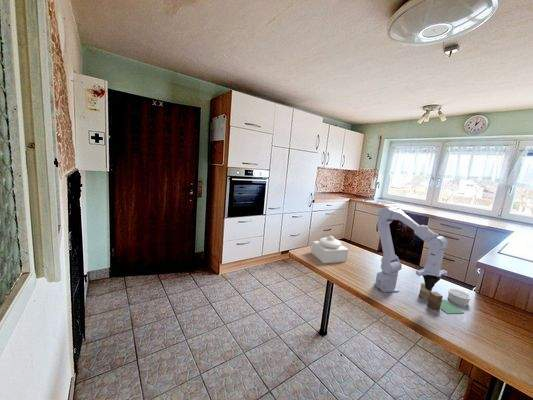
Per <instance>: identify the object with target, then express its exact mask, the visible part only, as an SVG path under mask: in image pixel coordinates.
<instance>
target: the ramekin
mask: <svg viewBox="0 0 533 400" xmlns="http://www.w3.org/2000/svg"><path fill="white" fill-rule="evenodd" d="M447 295H448V296H447V298H448V300H449V301H451V302H452V303H453V304H456V305H459V306H464V307H465V306H469V304H470V300H471V299H472V296H471V295H470V294H469V293H466V292H465V291H463V290H460V289H456V288H449V289H448V293H447Z"/></svg>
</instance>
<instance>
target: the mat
mask: <svg viewBox="0 0 533 400" xmlns="http://www.w3.org/2000/svg"><path fill="white" fill-rule="evenodd" d="M440 310H442V311H443V312H444V313H445V314H447V315H452V314H465V312H464V311H463V310H461V309H459V308H458V307H457V306H456V305H454V304H452V303H451V302H449V301H448V300H446V299H442V302H441V306H440Z"/></svg>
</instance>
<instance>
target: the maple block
mask: <svg viewBox="0 0 533 400" xmlns="http://www.w3.org/2000/svg"><path fill="white" fill-rule="evenodd" d="M432 290H433V289H432ZM432 290H431V291H429V290H427V289H426V288H425V282H424V281H423V282H421V284H420V288H419V293H418V295H419V297H421V298H423V299H425V300H428V299H429V294H430V292H433V291H432Z"/></svg>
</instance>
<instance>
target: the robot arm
mask: <svg viewBox="0 0 533 400" xmlns="http://www.w3.org/2000/svg"><path fill="white" fill-rule="evenodd" d="M377 214H378V218H377V222H376V223H377V228H378V234H379V238H380V243H381V249H382V254H383V256H382V258H381V259H380V261H381V264H380V270H381V271H379V272H377V273H376V276H375V281H374V282H373V284H374V286H376V287H377V288H378V289H379V290H380V291H382V292H383V293H388V292H389V293H391V292H392V293H395V292H397V293H398V292H400V290H399V289H397V288H396V287H397V280H398V275H399V271H401V270H402V268H403V267H402V262H400V259H399V256H397V254H395V248H394V243H393V238H392V234H391V227H390V224H391V223H392V222H394V221H400V222H401V223H402V224H404V225H405V226H407V227H408V228H410V229H412V230H413V233H414V235H415V236H417V237H418V238H420V239H421V240H422V241H423V242H424V243H426V244H427V245H426V246H427V247H428V251H427V256H426V259H425V264H424V265H425V266H424V267H423V268H421V269H417V270H415V275H417V276H418V277H421V276H422V278H423V282H425V288H426V289H427V290H429V291H431V290H433V288H434V286H435V285H436V284H437V283H438V282H439V281H440V280H441V277H442V276H444V277H446V276H447V275H448V271H447V270H444V269H441V268H442V264H443V259H444V255H445V249H446V248H448V246H449V241H448V239H447V238H445V236H443V235H439V234H438V233H437V232H434V231H433V230H431V229H430V227H429V226H428V225H425V224H419V223H417V221H415V220H414V219H413V218H412V217H410V216H409V215H407V213H405V212H404V211H403V210H402V209H400V208H399V207H398V206H388V207H385V206H384V207H382V208H380V210H379V211H378V213H377Z"/></svg>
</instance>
